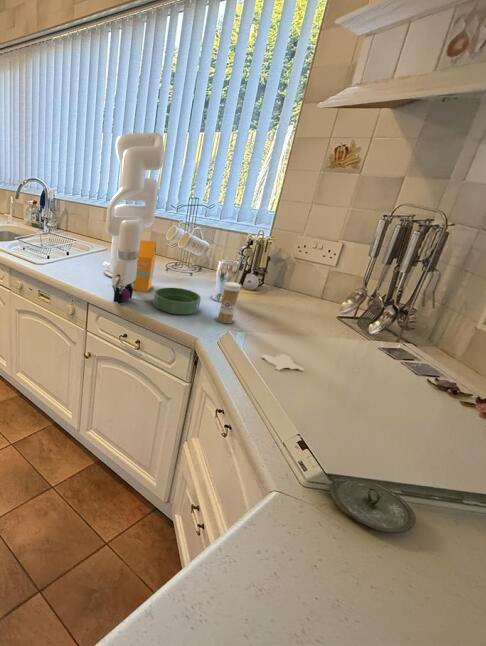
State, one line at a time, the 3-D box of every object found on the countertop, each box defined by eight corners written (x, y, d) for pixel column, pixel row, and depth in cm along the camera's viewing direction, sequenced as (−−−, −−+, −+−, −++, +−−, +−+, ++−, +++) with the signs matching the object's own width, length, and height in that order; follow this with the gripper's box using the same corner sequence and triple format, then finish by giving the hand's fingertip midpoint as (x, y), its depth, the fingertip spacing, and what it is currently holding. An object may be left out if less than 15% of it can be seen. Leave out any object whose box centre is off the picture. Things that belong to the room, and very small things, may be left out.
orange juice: (130, 283, 170) (135, 237, 162) (151, 286, 166) (158, 239, 158) (125, 288, 164) (130, 241, 156) (147, 292, 160) (154, 244, 152)
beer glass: (229, 303, 147) (238, 265, 141) (209, 299, 151) (217, 262, 145) (232, 298, 152) (241, 261, 146) (213, 294, 156) (220, 258, 150)
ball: (113, 301, 152) (114, 289, 150) (120, 297, 155) (121, 285, 153) (124, 304, 148) (126, 292, 146) (131, 301, 151) (133, 288, 149)
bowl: (145, 307, 145) (147, 294, 143) (164, 296, 155) (166, 284, 153) (187, 319, 135) (189, 306, 133) (204, 307, 145) (207, 294, 143)
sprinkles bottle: (217, 322, 133) (225, 285, 127) (216, 317, 136) (224, 280, 131) (232, 324, 131) (241, 286, 126) (231, 319, 135) (240, 282, 129)
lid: (407, 517, 66) (416, 490, 65) (416, 548, 58) (426, 518, 57) (326, 486, 72) (334, 461, 71) (325, 510, 65) (334, 483, 64)
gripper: (130, 248, 152) (125, 291, 159) (105, 257, 141) (101, 303, 148) (148, 252, 147) (142, 296, 154) (124, 261, 136) (119, 308, 143)
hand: (122, 299), depth 151 cm, fingers open, 6 cm apart
